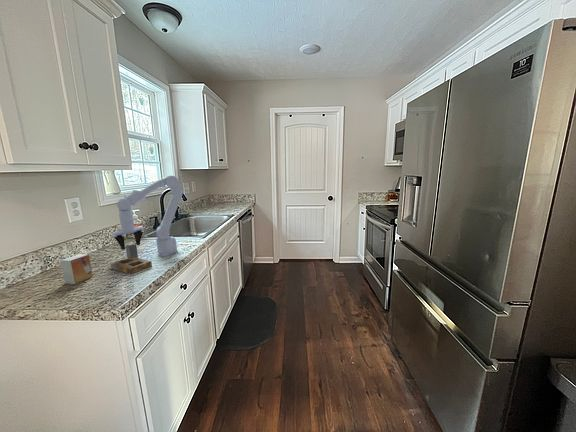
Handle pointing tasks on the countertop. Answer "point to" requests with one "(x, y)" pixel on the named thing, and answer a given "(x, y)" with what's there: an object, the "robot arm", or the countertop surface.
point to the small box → (76, 268)
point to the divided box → (131, 265)
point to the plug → (131, 250)
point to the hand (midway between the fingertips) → (130, 247)
